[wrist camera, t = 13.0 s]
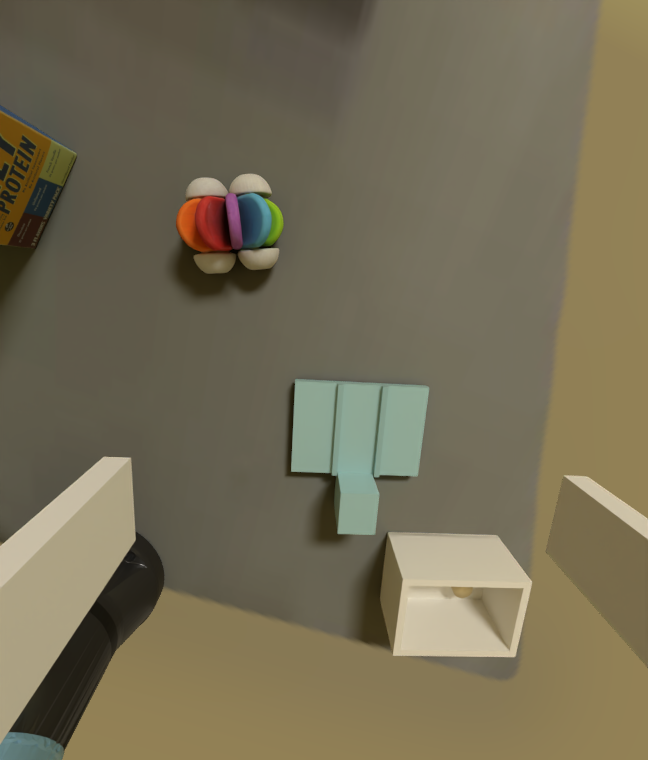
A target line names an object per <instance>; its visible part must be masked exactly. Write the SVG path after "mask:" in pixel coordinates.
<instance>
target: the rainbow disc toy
mask: <svg viewBox="0 0 648 760" xmlns="http://www.w3.org/2000/svg"><path fill="white" fill-rule="evenodd" d="M271 195H272V192H271V189H270V187H269V185H268V183H267V182H266V181H265V180H264V179H263V178H262V177H260V176H258V175H255V174H243V175H240V176H238V177H237V178H236V179H234V181H233V182H232V184H231V186H230V189H229V193H228V191H227V190H226V188H225V187H224V186H223V185H222V184H221V183H220V182H219V181H218V180H216V179H213V178H198V179H195V180H194V181H192V182H191V183H190V185H189V186H188V188H187V191H186V201H187V202H186V203H185V204H184V205H183V206H182V207H181V208H180V210H179V212H178V215H177V219H176V227H177V230H178V233H179V235H180V236H181V238H182V239H183V241H184V242H185V243H186V244H187V245H188V246H190V247H191V248H193V249H195V250H197V251H200V252H202V253H200V254H196V255H194V260H195V262H196V264H197V266H198V267H199V268H200V269H201V270H202V271H203V272H205V273H207V274H212V273H227V272H228V271H230V270H231V269H232V267H233V266H234V264H235V261H236V254H235V253H230V252H229V250H232V249H236V250H238V249H241V250H240V251H239V252H238V257H239V259H240V261H241V262H242V264H243V265H244V266H245V267H247V268H248V269H250V270H259V269H269V268H271V267H272V266H273V265H274V264H275V263H276V261H277V259H278V256H279V249H278V248H266V249H260V248H259V247H266V246H271V245H273V244H274V242H276V241H277V239H278V238H279V237H280V235H281V233H282V230H283V216H282V213H281V211H280V210H279V208H278V207H277V206H276V205H275V204H274V203H272V202H271V201H269V200H268V199H266V198H268V197H270V196H271Z"/></svg>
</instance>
